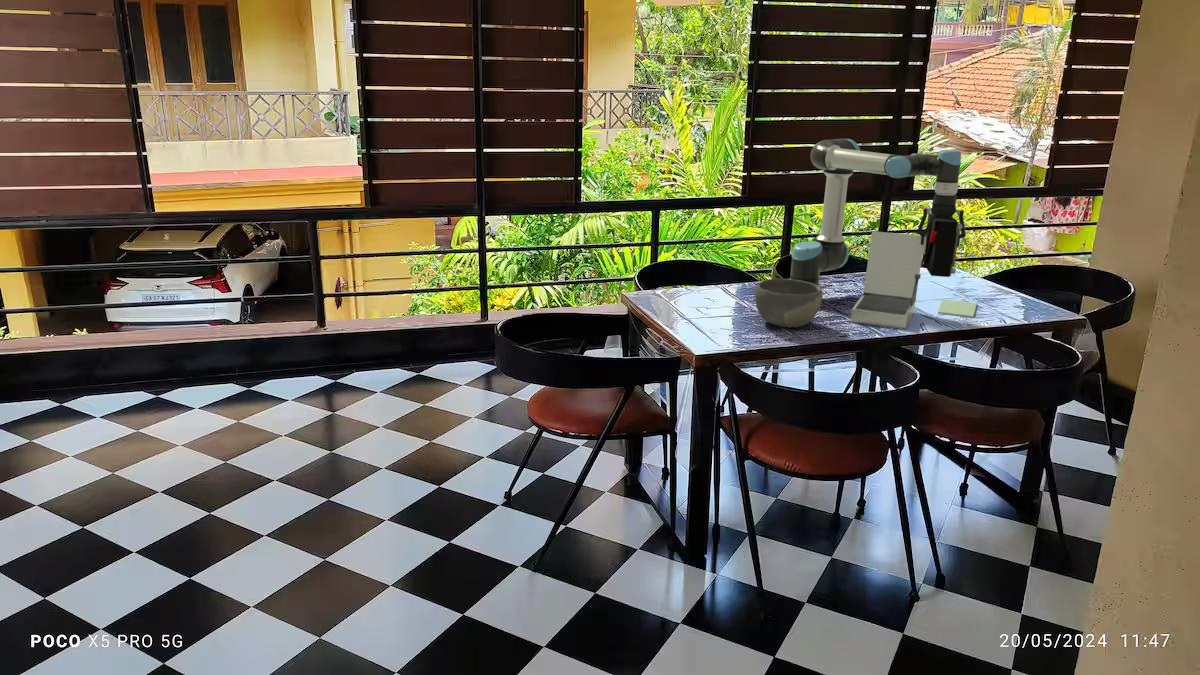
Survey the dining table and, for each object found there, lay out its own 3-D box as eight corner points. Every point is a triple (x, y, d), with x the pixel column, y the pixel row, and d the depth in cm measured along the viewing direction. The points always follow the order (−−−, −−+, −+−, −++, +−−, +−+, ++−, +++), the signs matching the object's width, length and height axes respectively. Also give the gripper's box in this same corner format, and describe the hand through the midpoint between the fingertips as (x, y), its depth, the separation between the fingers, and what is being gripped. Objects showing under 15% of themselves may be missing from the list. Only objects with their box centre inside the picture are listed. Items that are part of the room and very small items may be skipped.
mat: (937, 313, 333) (937, 311, 332) (942, 300, 350) (942, 299, 350) (973, 317, 327) (973, 316, 327) (976, 304, 345) (976, 303, 345)
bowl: (821, 336, 304) (825, 296, 299) (753, 332, 308) (755, 292, 303) (817, 317, 327) (820, 279, 322) (753, 313, 331) (756, 276, 326)
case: (850, 321, 321) (858, 244, 311) (864, 302, 347) (872, 230, 338) (906, 329, 312) (916, 250, 303) (917, 308, 338) (926, 235, 329)
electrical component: (955, 277, 304) (963, 222, 298) (925, 275, 306) (933, 220, 300) (947, 267, 320) (955, 214, 314) (919, 265, 322) (926, 213, 316)
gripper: (912, 193, 306) (905, 253, 313) (977, 196, 297) (969, 259, 303) (915, 190, 313) (908, 250, 319) (979, 194, 303) (971, 255, 310)
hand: (938, 254), depth 311 cm, fingers open, 9 cm apart
